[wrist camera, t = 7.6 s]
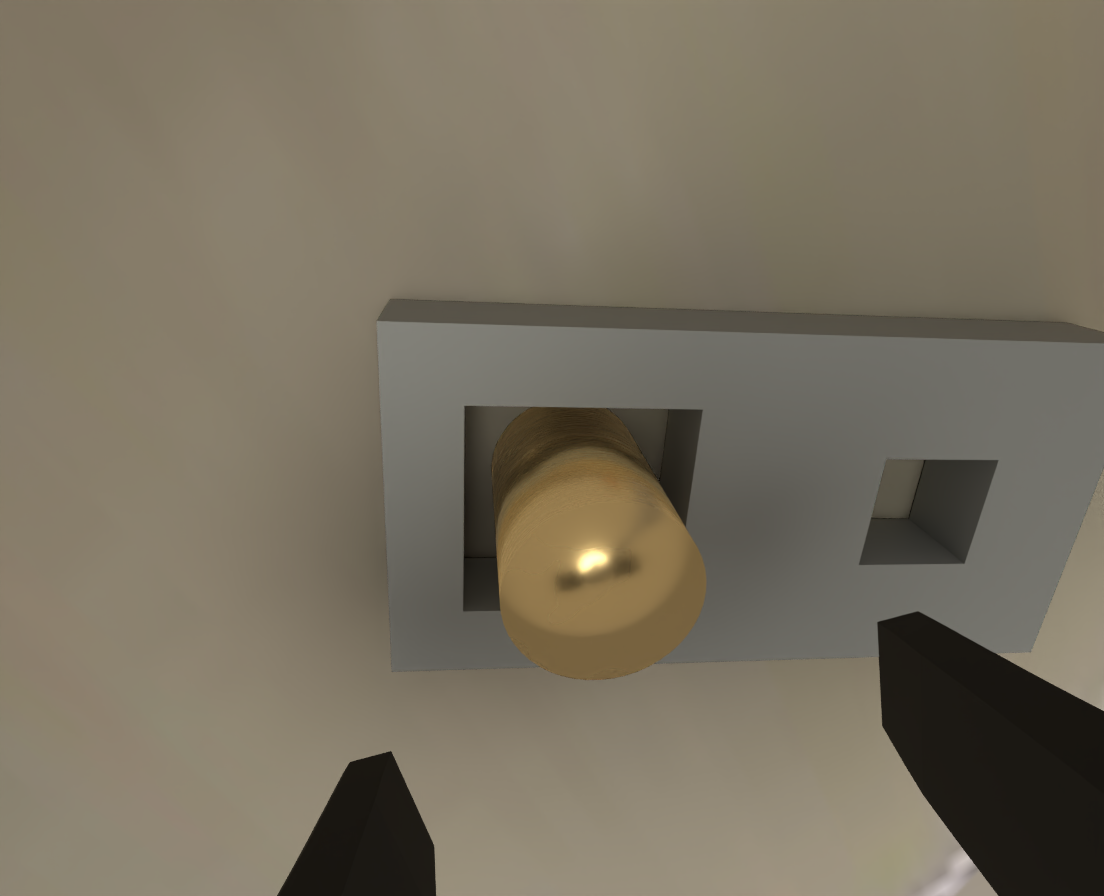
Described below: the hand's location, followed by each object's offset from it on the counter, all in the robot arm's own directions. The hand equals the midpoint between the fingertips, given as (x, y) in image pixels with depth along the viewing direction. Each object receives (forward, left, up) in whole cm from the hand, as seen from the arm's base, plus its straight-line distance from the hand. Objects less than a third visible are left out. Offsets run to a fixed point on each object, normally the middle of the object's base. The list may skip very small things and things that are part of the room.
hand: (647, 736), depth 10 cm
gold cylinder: (0, 0, -9) cm, 9 cm away
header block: (-4, 0, -9) cm, 10 cm away
